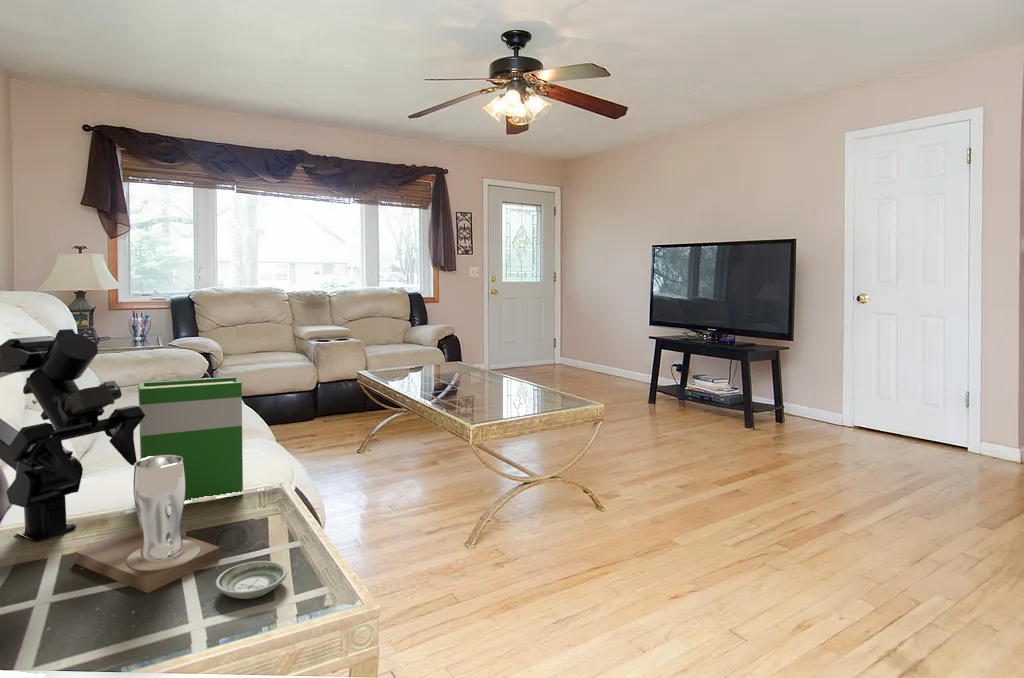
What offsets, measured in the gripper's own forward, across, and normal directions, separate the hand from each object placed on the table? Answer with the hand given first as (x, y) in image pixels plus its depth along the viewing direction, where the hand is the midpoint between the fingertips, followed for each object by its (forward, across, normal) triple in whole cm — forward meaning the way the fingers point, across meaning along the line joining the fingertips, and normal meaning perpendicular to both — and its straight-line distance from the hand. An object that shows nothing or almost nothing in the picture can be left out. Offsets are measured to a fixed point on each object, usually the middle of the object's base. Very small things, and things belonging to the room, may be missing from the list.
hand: (107, 471), depth 96 cm
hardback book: (+4, +22, +15) cm, 28 cm away
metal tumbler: (+17, 0, -1) cm, 17 cm away
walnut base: (+16, 0, +4) cm, 16 cm away
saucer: (+31, +1, -11) cm, 33 cm away
